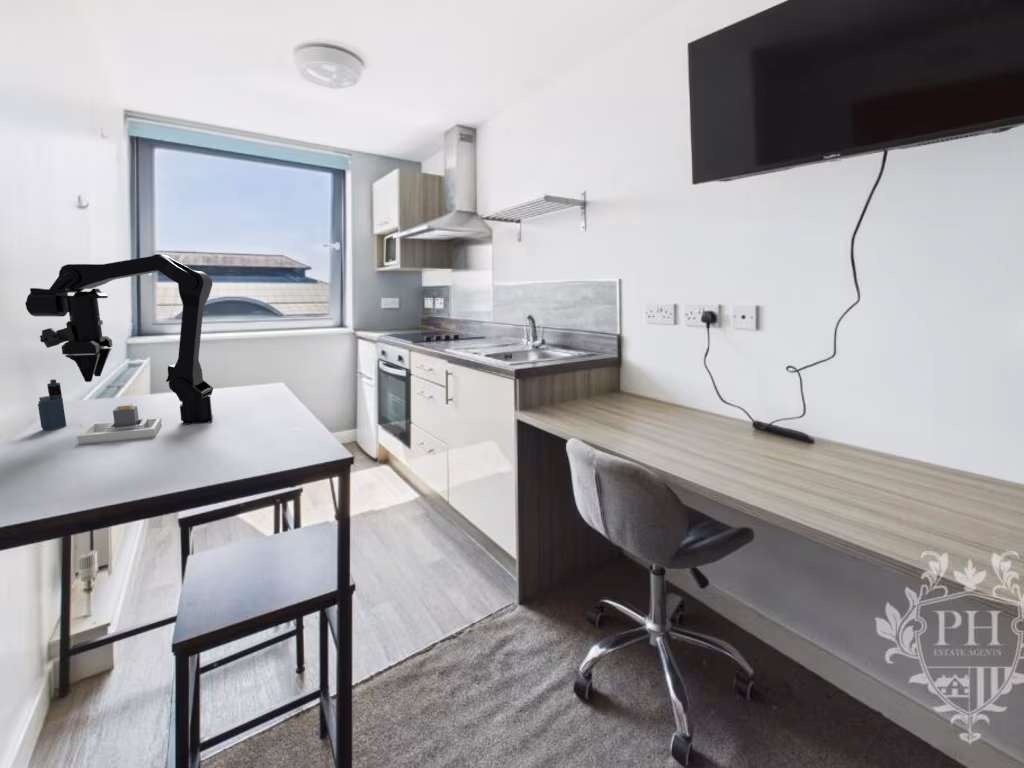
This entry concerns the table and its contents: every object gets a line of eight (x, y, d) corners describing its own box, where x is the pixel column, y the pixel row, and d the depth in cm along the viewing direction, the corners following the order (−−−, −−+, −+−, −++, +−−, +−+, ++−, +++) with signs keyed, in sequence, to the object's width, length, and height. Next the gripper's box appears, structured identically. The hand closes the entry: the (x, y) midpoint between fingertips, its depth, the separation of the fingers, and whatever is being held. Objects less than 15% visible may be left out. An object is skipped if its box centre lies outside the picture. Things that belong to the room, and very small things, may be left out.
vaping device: (69, 425, 126) (62, 379, 124) (48, 430, 120) (41, 382, 118) (60, 425, 126) (53, 378, 124) (39, 430, 121) (31, 382, 119)
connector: (139, 429, 122) (136, 402, 121) (136, 433, 118) (133, 405, 117) (119, 431, 120) (116, 404, 119) (116, 435, 116) (112, 407, 115)
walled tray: (161, 425, 127) (161, 417, 127) (155, 436, 117) (154, 428, 117) (92, 431, 121) (91, 423, 120) (78, 444, 110) (77, 435, 110)
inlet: (149, 427, 124) (148, 418, 124) (144, 434, 118) (143, 425, 117) (112, 430, 121) (111, 421, 120) (105, 438, 114) (104, 428, 114)
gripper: (54, 315, 126) (62, 375, 129) (27, 318, 110) (37, 387, 113) (109, 315, 131) (116, 373, 134) (91, 318, 115) (99, 384, 118)
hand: (93, 378), depth 124 cm, fingers open, 9 cm apart
